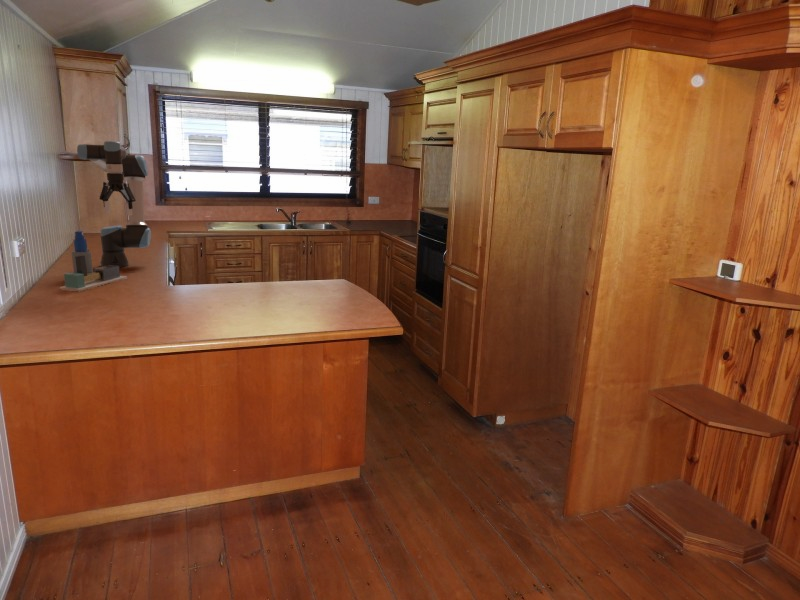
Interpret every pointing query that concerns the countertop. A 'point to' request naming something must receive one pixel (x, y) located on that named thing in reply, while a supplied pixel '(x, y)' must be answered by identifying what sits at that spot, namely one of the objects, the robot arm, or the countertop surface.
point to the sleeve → (108, 272)
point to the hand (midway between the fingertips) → (118, 214)
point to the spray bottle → (81, 251)
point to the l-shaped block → (82, 269)
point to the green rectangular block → (74, 280)
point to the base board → (94, 284)
